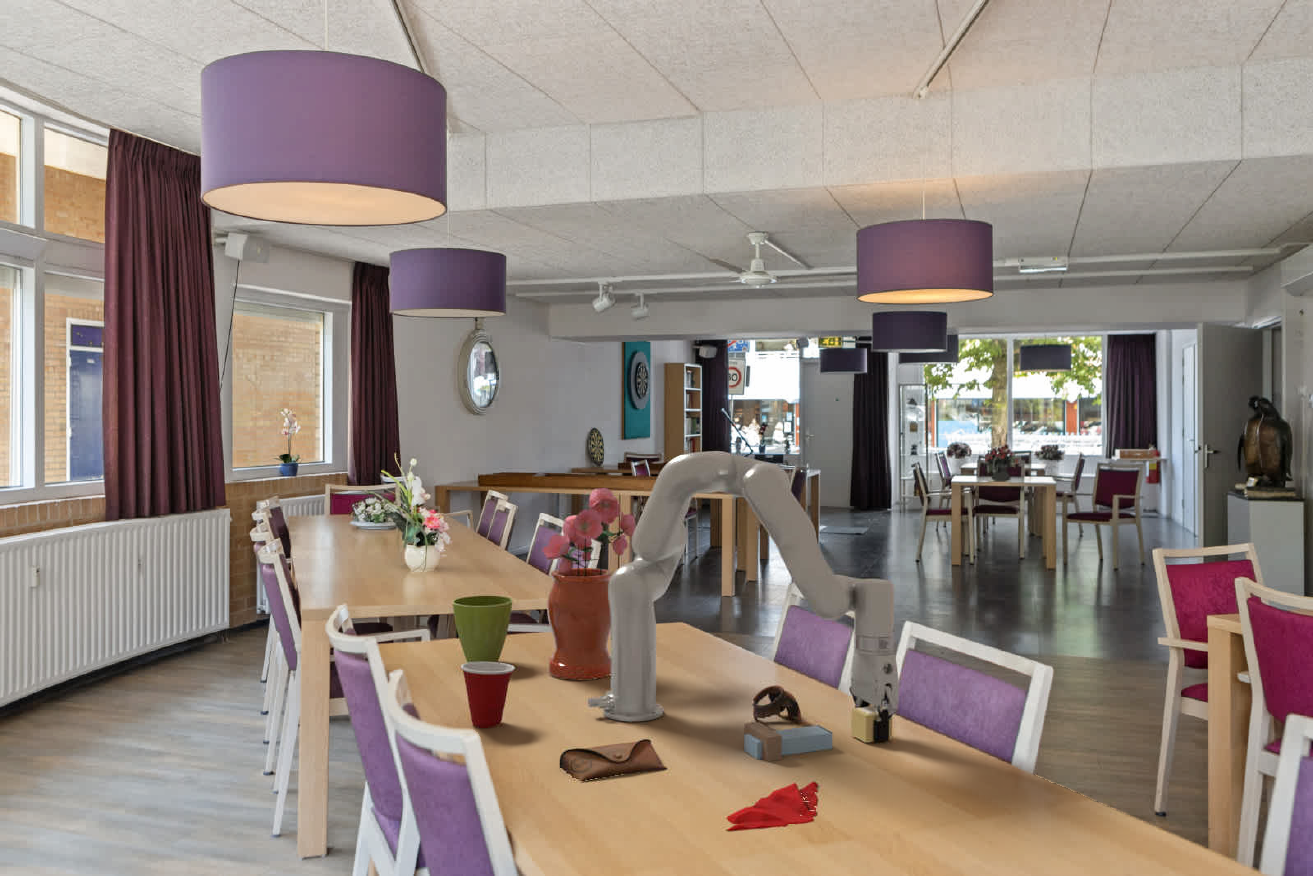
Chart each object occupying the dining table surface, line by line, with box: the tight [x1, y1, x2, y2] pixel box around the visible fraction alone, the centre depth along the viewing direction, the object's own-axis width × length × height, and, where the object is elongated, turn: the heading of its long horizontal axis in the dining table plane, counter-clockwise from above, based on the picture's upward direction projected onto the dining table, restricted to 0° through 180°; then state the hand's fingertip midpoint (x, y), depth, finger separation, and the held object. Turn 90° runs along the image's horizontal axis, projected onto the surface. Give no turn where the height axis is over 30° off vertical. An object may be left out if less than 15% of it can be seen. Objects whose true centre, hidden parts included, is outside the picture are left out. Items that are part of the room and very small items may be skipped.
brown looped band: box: [752, 684, 803, 725], centre depth 208 cm, size 12×10×8 cm
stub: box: [850, 705, 893, 743], centre depth 196 cm, size 6×5×5 cm
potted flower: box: [542, 487, 637, 681], centre depth 245 cm, size 19×25×45 cm
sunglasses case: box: [559, 738, 668, 781], centre depth 178 cm, size 18×7×7 cm, turn 116°
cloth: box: [725, 781, 819, 832], centre depth 160 cm, size 26×14×2 cm, turn 128°
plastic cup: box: [460, 662, 516, 729], centre depth 203 cm, size 11×11×12 cm
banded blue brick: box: [743, 721, 833, 762], centre depth 189 cm, size 16×9×4 cm, turn 112°
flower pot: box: [452, 595, 513, 663], centre depth 253 cm, size 15×15×16 cm
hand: (872, 735), depth 196 cm, fingers closed on stub, 5 cm apart
